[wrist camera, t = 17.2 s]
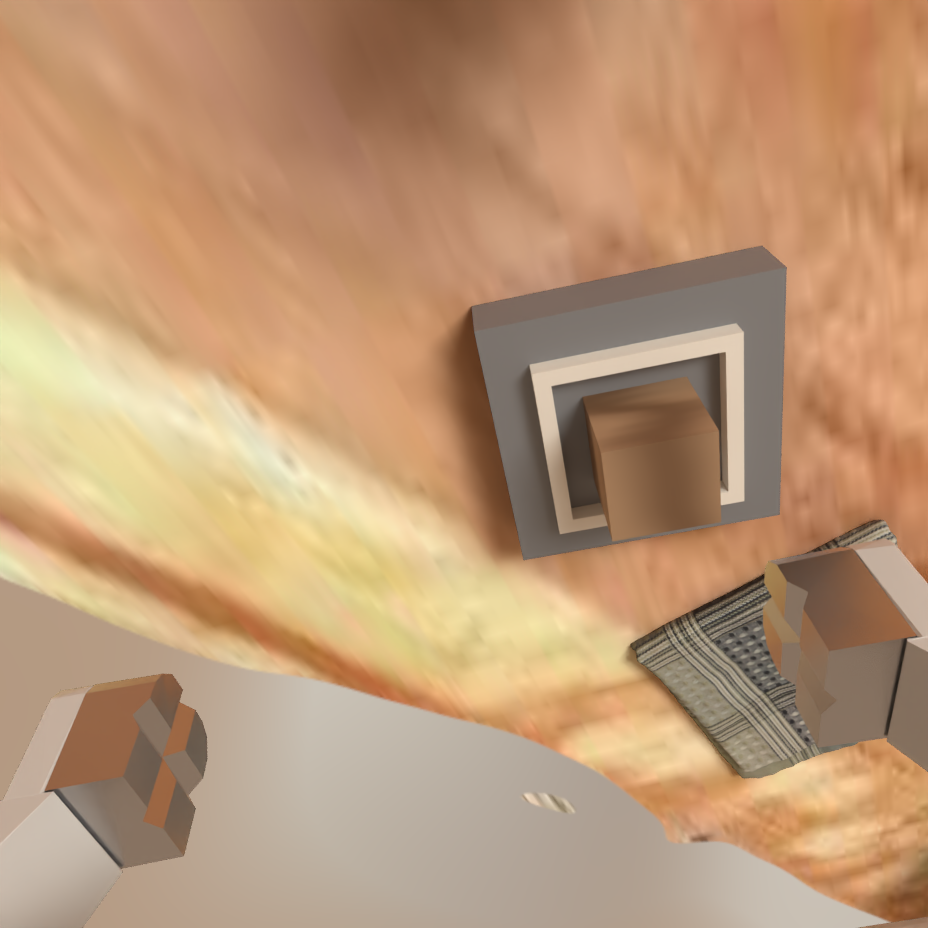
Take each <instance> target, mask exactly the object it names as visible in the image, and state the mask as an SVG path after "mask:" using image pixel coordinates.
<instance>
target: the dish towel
mask: <svg viewBox="0 0 928 928" xmlns="http://www.w3.org/2000/svg"><path fill="white" fill-rule="evenodd" d="M880 539H887V540H889V541H891V542H893V543H894V544H895V545H896V546H897V539H896V537H895V535H894V534H892V533H891V531H890V530H889V527H888V525H887V523H886V522H885V521H884V520H874V521H872V522H869V523H867V524H865V525H862V526H860V527H858V528H855V529H853V530H851V531H849V532H848V533H846V534H844V535H842V536H839V537H837V538H835V539H834V540H832V541H830V542H828V543H826V544H824V545H822V546H820V547H818V548H816V549H814V550H812V551H810V552H808V553H813V552H818V551H823V550H828V549H833V548H838V547H846V546H849V545H854V544H859V543H864V542H870V541H875V540H880ZM897 547H898V546H897ZM898 549H899V548H898ZM899 550H900V549H899ZM900 551H901V550H900ZM808 553H806V554H808ZM764 578H765V574H764V575H763V576H761V577H759V578H757V579H755V580H753V581H752V582H749V583H747V584H745V585H744V586H742V587H740V588H738V589H737V590H735V591H732V592H730V593H728V594H726V595H724V596H722V597H720V598H717V599H715V600H713V601H712V602H709V603H707V604H705V605H703V606H701V607H699V608H698V609H696V610H693V611H691V612H689V613H687V614H685V615H683V616H681V617H679V618H677V619H675V620H673V621H671V622H669V623H667V624H665V625H663V626H661V627H660V628H659V629H657V630H655V631H653V632H651V633H650V634H648V635H646V636H644V637H642V638H640V639H638V640H637V641H635V642H633V643H632V644H631V647H632V649H633V650H635V651H636V654H637V661H638V662H639V663H641V664H643V665H644V666H646V667H647V668H648V669H649V670H650V671H651V672H652V673H654V674H655V675H656V676H657V677H658V678H659V679H660V680H661V681H662V682H663V683H664V684H665V685H666V686H667V688H668V689H669V690H670V692H671V693H672V694H673V695H674V696H675V698H676V699H677V700H678V702H679V703H680V704H681V705H682V707H683V708H684V709H685V710H686V711H687V712H688V714H689V715H690V716H691V717H692V718H693V720H694V721H695V722H696V723H697V725H698V726H699V727H700V728H701V729H702V731H703V732H704V733H705V734H706V736H707V737H708V739H709V740H710V741H711V742H712V743H713V744H714V746H715V747H716V748H717V749H718V751H719V753H720V754H721V755H722V756H723V757H724V758H725V759H726V760H727V761H728V762H729V763H730V764H731V765H732V767H733V768H734V769H735V770H736V771H737V772H738V774H739V775H740V776H741V777H742V778H744V779H745V778H762V777H764V776H768V775H773V774H775V773H777V772H778V771H780V770H783V769H786V768H789V767H792V766H794V765H795V764H797V763H799V762H801V761H805V760H807V759H810V758H812V757H815V756H817V755H820V754H822V753H826V752H830V751H834V750H838V749H841V748H843V747H848V746H853V745H855V744H857V743H858V742H854V743H847V744H840V745H833V746H826V747H819V748H818V747H817V745H816V743H815V741H814V739H813V737H812V736H811V734H810V732H809V730H808V728H807V726H806V724H805V722H804V720H803V718H802V717H801V715H800V713H799V711H798V709H797V707H796V705H795V696H796V685H794V684H793V683H791V682H790V681H788V680H786V679H785V678H783V677H781V676H780V674H779V672H778V670H777V668H776V666H775V664H774V662H773V660H772V657H771V654H770V652H769V649H768V646H767V642H766V637H765V632H764V627H763V607H764V605H765V604H766V603H767V602H768V601H769V600H770V598H771V597H772V596H771V594H770V593H769V591H768V589H767V587H766V585H765V584H764Z"/></svg>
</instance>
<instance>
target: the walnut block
mask: <svg viewBox="0 0 928 928" xmlns="http://www.w3.org/2000/svg"><path fill="white" fill-rule="evenodd" d="M582 398H583V405H584V412H585V419H586V426H587V434H588V441H589V448H590V455H591V463H592V470H593V477H594V482H595V485H596V489H597V492H598V495H599V499H600V502H601V505H602V508H603V512H604V515H605V518H606V522H607V525H608V528H609V532H610V535H611V538H612V541H618V540H624V539H629V538H635V537H640V536H646V535H652V534H657V533H663V532H669V531H674V530H680V529H685V528H691V527H697V526H702V525H708V524H714V523H719V522H721V492H720V453H719V430H718V428H717V427H716V425H715V423H714V422H713V420H712V418H711V417H710V415H709V413H708V412H707V410H706V408H705V406H704V405H703V403H702V401H701V400H700V398H699V396H698V395H697V393H696V391H695V390H694V388H693V386H692V385H691V383H690V381H689V380H688V378H687V376H686V377H681V378H676V379H671V380H666V381H661V382H656V383H651V384H645V385H640V386H635V387H630V388H625V389H620V390H615V391H610V392H604V393H599V394H594V395H589V396H584V397H582Z"/></svg>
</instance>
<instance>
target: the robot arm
mask: <svg viewBox="0 0 928 928" xmlns="http://www.w3.org/2000/svg"><path fill="white" fill-rule="evenodd" d="M764 584H765V585H766V587H767V589H768V591H769V593H770V594H771V596H772V597H771V598H770V600H769V601H768V602H767V603H766V604H765V605H764V607H763V627H764V632H765V637H766V642H767V646H768V649H769V652H770V654H771V657H772V660H773V662H774V664H775V666H776V668H777V670H778V672H779V674H780V676H781V677H783V678H785V679H786V680H788V681H790V682H791V683H793V684H794V685H796V696H795V705H796V707H797V709H798V711H799V713H800V715H801V717H802V718H803V720H804V722H805V724H806V726H807V728H808V730H809V732H810V734H811V736H812V737H813V739H814V741H815V743H816V745H817V747H818V748H819V747H826V746H833V745H840V744H847V743H854V742H861V741H868V740H875V739H882V738H887V742H888V743H890V744H891V745H892V746H894V747H895V748H896V749H898V750H899V751H901V752H902V753H903V754H905V755H906V756H907V757H909V758H910V759H911V760H913V761H914V762H915V763H917V764H918V765H919V766H921V767H922V768H923V769H925V770H926V771H927V772H928V583H927V582H926V581H925V580H924V578H923V577H922V576H921V575H920V574H919V573H918V571H917V570H916V569H915V568H914V567H913V565H912V564H911V563H910V562H909V561H908V559H907V558H906V557H905V556H904V555H903V553H902V552H901V551H900V550H899V549H898V547H897V546H896V545H895V544H894V543H893V542H891V541H889V540H887V539H880V540H875V541H870V542H864V543H859V544H854V545H849V546H846V547H838V548H833V549H828V550H823V551H818V552H813V553H808V554H803V555H797V556H792V557H787V558H782V559H777V560H772V561H768V563H767V566H766V568H765V578H764ZM182 691H183V689H182V688H181V686H180V685H179V684H178V682H177V681H176V679H175V678H174V676H173V675H172V674H159V675H152V676H146V677H140V678H133V679H127V680H121V681H114V682H108V683H102V684H96V685H93V686H87V687H81V688H74V689H68V690H62V691H60V692H59V693H57V694H56V695H55V696H54V697H53V698H52V699H51V700H50V701H49V703H48V706H47V708H46V710H45V712H44V714H43V716H42V718H41V720H40V723H39V724H38V727H37V729H36V731H35V733H34V735H33V737H32V739H31V741H30V743H29V745H28V748H27V750H26V752H25V754H24V756H23V758H22V760H21V762H20V765H19V767H18V769H17V771H16V773H15V775H14V777H13V779H12V781H11V783H10V785H9V788H8V790H7V792H6V794H5V796H4V798H3V800H0V928H83V927H84V925H85V924H86V922H87V921H88V920H89V918H90V917H91V916H92V914H93V913H94V911H95V910H96V909H97V907H98V906H99V905H100V903H101V902H102V900H103V899H104V897H105V896H106V895H107V893H108V892H109V890H110V889H111V888H112V887H113V885H114V884H115V882H116V881H117V880H118V878H119V877H120V875H121V874H122V873H123V871H122V870H121V869H122V868H127V867H132V866H137V865H141V864H147V863H152V862H157V861H162V860H167V859H172V858H177V857H182V856H184V854H185V849H186V845H187V841H188V837H189V833H190V829H191V825H192V821H193V817H194V813H195V809H196V808H195V806H194V805H193V803H192V801H191V799H190V797H189V794H190V793H191V791H192V790H193V789H194V788H195V787H196V785H197V784H198V783H199V782H200V781H201V779H203V776H204V771H205V766H206V762H207V736H206V733H205V729H204V726H203V722H202V720H201V719H200V717H199V715H198V714H197V712H196V710H194V709H192V708H190V707H188V706H186V705H184V704H182V703H180V702H179V701H180V698H181V694H182ZM860 928H928V917H923V918H917V919H911V920H904V921H898V922H891V923H886V924H879V925H873V926H866V927H860Z"/></svg>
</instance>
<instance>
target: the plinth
mask: <svg viewBox="0 0 928 928" xmlns="http://www.w3.org/2000/svg"><path fill="white" fill-rule="evenodd" d="M786 270H787V267H786V266H785V265H783V264H782V263H781V262H780V261H779V260H778V259H777V258H776V257H774V256H773V255H772V254H771V253H770V252H769V251H768V250H767V249H765V248H764V247H763V246H759V247H754V248H749V249H744V250H740V251H735V252H730V253H725V254H720V255H716V256H711V257H706V258H701V259H696V260H692V261H687V262H682V263H677V264H672V265H668V266H663V267H658V268H653V269H648V270H644V271H639V272H634V273H629V274H625V275H620V276H615V277H610V278H605V279H601V280H596V281H591V282H586V283H581V284H577V285H572V286H567V287H562V288H557V289H553V290H548V291H543V292H538V293H533V294H529V295H524V296H519V297H514V298H510V299H505V300H500V301H495V302H490V303H486V304H481V305H476V306H472V316H473V326H474V334H475V338H476V343H477V347H478V352H479V357H480V361H481V366H482V370H483V375H484V380H485V384H486V389H487V394H488V398H489V403H490V407H491V412H492V417H493V421H494V426H495V430H496V435H497V440H498V444H499V449H500V453H501V458H502V463H503V467H504V472H505V477H506V481H507V486H508V490H509V495H510V500H511V504H512V509H513V513H514V518H515V523H516V527H517V532H518V536H519V541H520V546H521V550H522V555H523V560H528V559H533V558H539V557H544V556H550V555H556V554H561V553H567V552H573V551H578V550H584V549H590V548H595V547H601V546H606V545H612V544H618V543H623V542H629V541H635V540H640V539H646V538H651V537H657V536H663V535H668V534H674V533H680V532H685V531H691V530H696V529H702V528H708V527H713V526H719V525H725V524H730V523H736V522H741V521H747V520H753V519H758V518H764V517H770V516H775V515H780V482H781V446H782V411H783V376H784V340H785V305H786ZM686 376H687V378H688V380H689V381H690V383H691V385H692V386H693V388H694V390H695V391H696V393H697V395H698V396H699V398H700V400H701V401H702V403H703V405H704V406H705V408H706V410H707V412H708V413H709V415H710V417H711V418H712V420H713V422H714V423H715V425H716V427H717V428H718V430H719V453H720V492H721V522H719V523H714V524H708V525H702V526H697V527H691V528H685V529H680V530H674V531H669V532H663V533H657V534H652V535H646V536H640V537H635V538H629V539H624V540H618V541H612V538H611V535H610V532H609V528H608V525H607V522H606V518H605V515H604V512H603V508H602V505H601V502H600V499H599V495H598V492H597V489H596V485H595V482H594V477H593V470H592V463H591V455H590V448H589V441H588V434H587V426H586V419H585V412H584V405H583V398H582V397H584V396H589V395H594V394H599V393H604V392H610V391H615V390H620V389H625V388H630V387H635V386H640V385H645V384H651V383H656V382H661V381H666V380H671V379H676V378H681V377H686Z"/></svg>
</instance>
